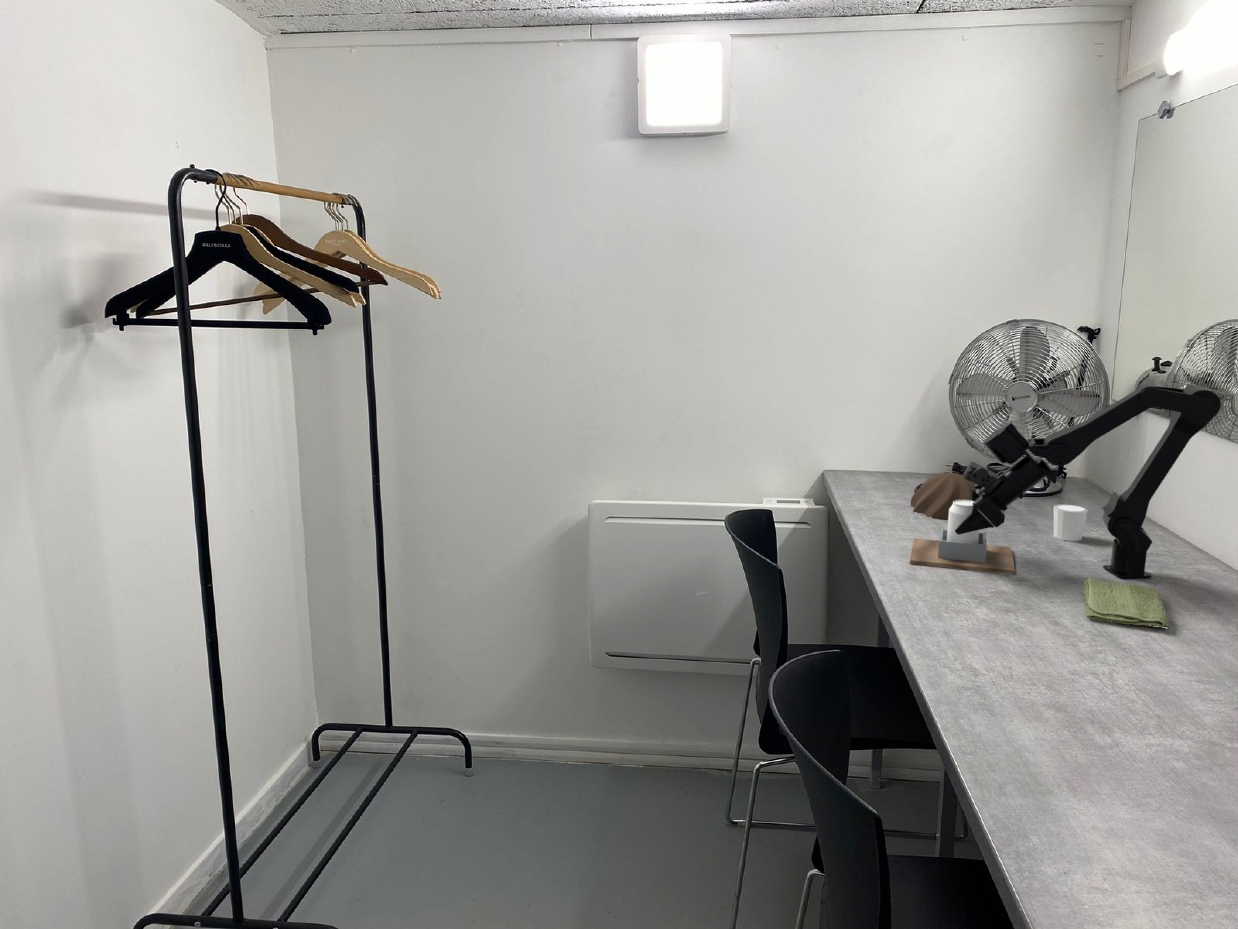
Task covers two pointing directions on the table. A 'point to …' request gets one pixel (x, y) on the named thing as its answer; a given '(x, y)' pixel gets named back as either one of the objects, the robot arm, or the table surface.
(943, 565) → the brown slab
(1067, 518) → the white tapered cup
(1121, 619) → the washcloth
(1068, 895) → the table surface
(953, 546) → the gray square open box
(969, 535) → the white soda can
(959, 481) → the decorative dome
